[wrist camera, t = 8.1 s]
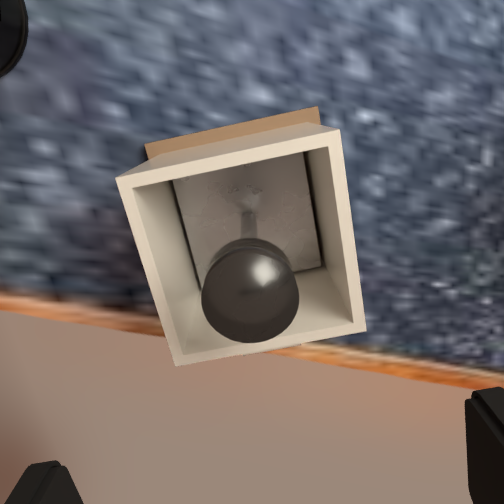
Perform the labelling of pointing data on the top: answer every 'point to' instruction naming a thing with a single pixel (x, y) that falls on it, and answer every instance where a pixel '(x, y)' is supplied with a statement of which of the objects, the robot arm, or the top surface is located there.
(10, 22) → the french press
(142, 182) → the white open box
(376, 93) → the top surface
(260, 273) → the plunger
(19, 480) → the robot arm
